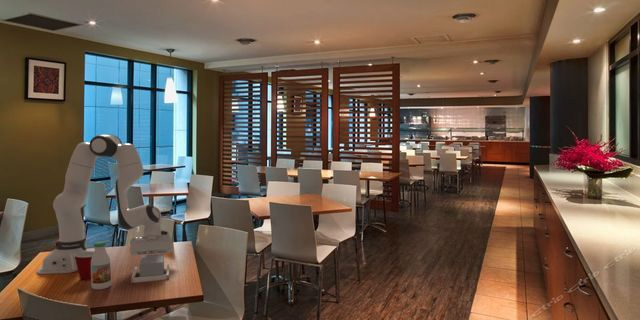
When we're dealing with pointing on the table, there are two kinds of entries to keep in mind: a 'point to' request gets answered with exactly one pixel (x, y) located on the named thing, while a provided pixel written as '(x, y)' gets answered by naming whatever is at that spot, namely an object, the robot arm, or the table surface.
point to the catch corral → (149, 278)
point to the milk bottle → (100, 267)
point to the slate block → (152, 265)
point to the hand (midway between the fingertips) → (151, 260)
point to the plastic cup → (84, 264)
